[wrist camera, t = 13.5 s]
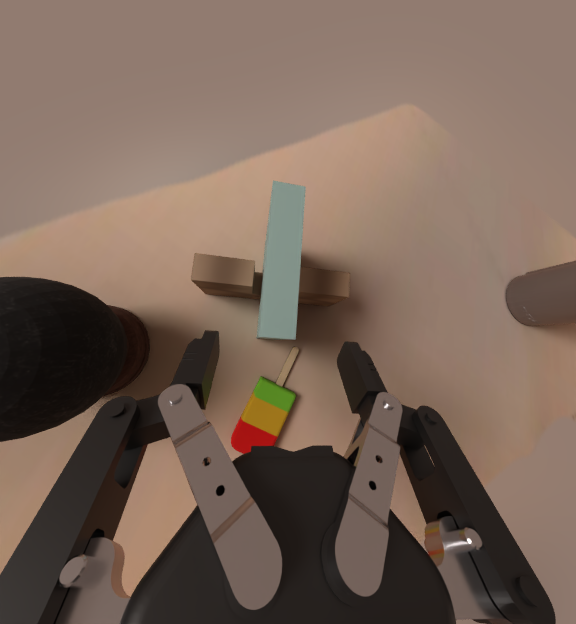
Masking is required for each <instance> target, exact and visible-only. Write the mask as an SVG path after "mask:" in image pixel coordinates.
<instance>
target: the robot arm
mask: <svg viewBox="0 0 576 624" xmlns="http://www.w3.org/2000/svg"><path fill="white" fill-rule="evenodd" d="M506 299H507V304H508V307H509V309H510V311H511V313H512V314H513V316H514V317H515V318H516V319H517V320H518V321H519V322H521V323H523V324H525V325H530V326H536V325H556V324H576V261H572V262H568V263H564V264H560V265H556V266H552V267H548V268H544V269H540V270H536V271H531V272H527V273H526V275H522V276H518V277H516V278H514V279H513V280H512V281H511V282H510V283H509V285H508V288H507V292H506ZM218 358H219V332H218V331H208V330H205V332H204V334H203V337H202V339H196V338H195V339H194V340H193V341H192V342H191V343H190V344H188V346H187V349H186V351H185V354H184V356H183V358H182V360H181V363H180V365H179V367H178V370H177V372H176V374H175V376H174V379H173V381H172V383H171V385H170V386H169V387H168V388H166V389H165V390H164V391H163V392H162V393H161V394H159V395H157V396H154V397H150V398H146V399H142V400H138V401H135V399H133V398H132V397H128V396H122V397H118V398H115V399H112V400H111V401H109V402H107V403H106V404H105V405H103V406H102V407H101V409H100V410H99V411H98V413H97V414H96V416H95V418H94V419H93V421H92V423H91V424H90V426H89V428H88V429H87V431H86V433H85V434H84V436H83V438H82V439H81V441H80V443H79V444H78V446H77V448H76V449H75V451H74V453H73V454H72V456H71V458H70V459H69V461H68V463H67V464H66V466H65V468H64V469H63V471H62V473H61V474H60V476H59V478H58V480H57V481H56V483H55V485H54V486H53V488H52V490H51V491H50V493H49V495H48V496H47V498H46V500H45V501H44V503H43V505H42V506H41V508H40V510H39V511H38V513H37V515H36V516H35V518H34V520H33V521H32V523H31V525H30V526H29V528H28V530H27V531H26V533H25V535H24V536H23V538H22V540H21V541H20V543H19V545H18V546H17V548H16V550H15V551H14V553H13V555H12V556H11V558H10V560H9V561H8V563H7V565H6V566H5V568H4V570H3V571H2V573H1V575H0V624H456V620H457V619H472V620H474V621H476V622H479V623H486V624H555V613H554V609H553V606H552V604H551V602H550V599H549V597H548V595H547V594H546V592H545V590H544V588H543V587H542V585H541V583H540V582H539V580H538V578H537V577H536V575H535V573H534V571H533V570H532V568H531V566H530V565H529V563H528V561H527V560H526V558H525V556H524V555H523V553H522V551H521V550H520V548H519V546H518V545H517V543H516V541H515V539H514V538H513V536H512V534H511V533H510V531H509V529H508V528H507V526H506V524H505V523H504V521H503V519H502V518H501V516H500V514H499V513H498V511H497V509H496V507H495V506H494V504H493V502H492V501H491V499H490V497H489V496H488V494H487V492H486V491H485V489H484V487H483V486H482V484H481V482H480V481H479V479H478V477H477V475H476V474H475V472H474V470H473V469H472V467H471V465H470V464H469V462H468V460H467V459H466V457H465V455H464V454H463V452H462V450H461V449H460V447H459V445H458V443H457V442H456V440H455V438H454V437H453V435H452V433H451V432H450V430H449V428H448V427H447V425H446V423H445V422H444V420H443V418H442V417H441V416H440V414H439V413H437V412H436V411H435V410H434V409H432V408H430V407H428V406H420V407H419V408H418V409H417V410H415V409H413V408H410V407H407V406H404V405H401V404H400V402H399V401H398V399H397V398H396V397H394V396H393V395H391V394H389V393H388V392H387V390H386V388H385V386H384V384H383V382H382V380H381V378H380V376H379V374H378V372H377V371H376V368H375V366H374V363H373V361H372V359H371V357H370V356H369V355H368V354H367V353H366V352H365V351H362V350H361V348H360V346H359V344H358V343H357V342H344V344H343V346H342V349H341V351H340V353H339V355H338V358H337V366H338V369H339V372H340V376H341V379H342V382H343V385H344V388H345V392H346V395H347V398H348V401H349V405H350V408H351V411H352V413H359V415H360V419H359V421H358V424H357V426H356V429H355V432H354V434H353V437H352V440H351V442H350V445H349V447H348V449H347V451H346V453H345V455H344V457H343V456H341V455H339V454H337V453H335V452H333V448H332V446H310V447H307V448H304V449H301V450H298V451H295V452H292V451H288V450H285V449H281V448H278V447H275V446H251V452H248V453H245V454H243V455H241V456H239V457H238V458H236V459H235V460H234V461H231V459H230V457H229V455H228V454H227V452H226V450H225V448H224V446H223V444H222V442H221V441H220V439H219V437H218V435H217V433H216V431H215V430H214V428H213V426H212V425H211V423H210V422H208V421H207V420H206V418H205V416H204V414H203V412H202V410H201V409H205V408H206V404H207V400H208V397H209V393H210V389H211V385H212V381H213V377H214V373H215V369H216V366H217V362H218ZM168 437H171V439H172V442H173V444H174V447H175V450H176V452H177V455H178V457H179V460H180V462H181V465H182V467H183V470H184V472H185V475H186V477H187V480H188V483H189V485H190V488H191V490H192V493H193V495H194V498H195V500H196V503H197V506H196V508H195V509H194V510H193V512H192V513H191V514H190V516H189V517H188V518H187V520H186V521H185V522H184V524H183V525H182V526H181V528H180V529H179V530H178V532H177V533H176V534H175V535H174V537H173V538H172V539H171V541H170V542H169V543H168V545H167V546H166V547H165V549H164V550H163V551H162V553H161V554H160V555H159V557H158V558H157V559H156V561H155V562H154V563H153V564H152V566H151V567H150V568H149V570H148V571H147V572H146V574H145V575H144V576H143V578H142V579H141V581H140V582H139V584H138V585H137V587H136V589H135V590H134V592H133V594H132V596H131V597H130V596H128V595H127V594H126V593H125V591H124V589H123V586H122V571H123V566H124V559H125V556H124V550H123V548H122V546H121V545H120V544H118V543H116V542H114V541H113V538H114V536H115V533H116V530H117V527H118V525H119V522H120V519H121V517H122V514H123V511H124V508H125V506H126V503H127V500H128V497H129V495H130V492H131V489H132V486H133V484H134V481H135V478H136V475H137V473H138V470H139V467H140V464H141V462H142V459H143V456H144V453H145V451H146V448H147V445H148V444H149V443H153V442H156V441H159V440H162V439H165V438H168ZM424 445H425V446H426V448H427V450H428V452H429V454H430V456H431V459H432V461H433V463H434V465H433V463H432V461H431V459H430V457H429V455H428V453H427V451H426V448H425V446H424ZM399 453H400V455H401V458H402V461H403V463H404V466H405V468H406V471H407V474H408V476H409V479H410V482H411V484H412V487H413V490H414V492H415V495H416V497H417V500H418V503H419V505H420V508H421V511H422V513H423V516H424V519H425V521H426V524H427V525H426V527H425V541H424V544H425V548H426V550H427V551H428V553H429V555H428V553H427V552H426V551H425V550H424V549H423V547H422V546H421V545H420V544H419V543H418V541H417V540H416V539H415V538H414V537H413V535H412V534H411V533H410V532H409V531H408V530H407V528H406V527H405V526H404V525H403V524H402V522H401V521H400V520H399V519H398V518H397V516H396V515H395V514H394V513H393V512H392V511H391V509H390V504H391V498H392V493H393V487H394V481H395V476H396V470H397V464H398V458H399ZM434 466H435V467H434Z"/></svg>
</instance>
